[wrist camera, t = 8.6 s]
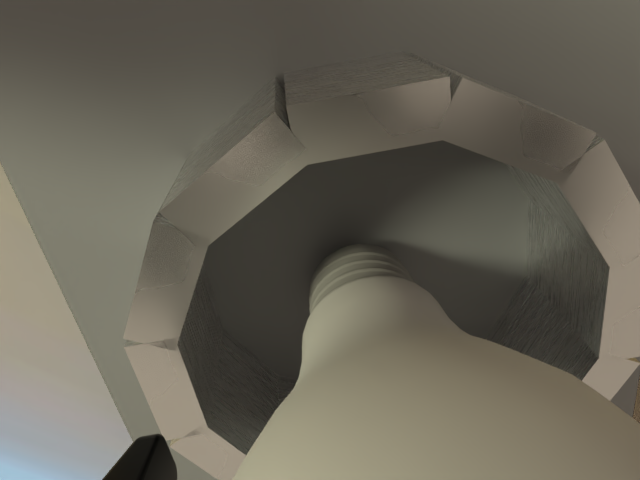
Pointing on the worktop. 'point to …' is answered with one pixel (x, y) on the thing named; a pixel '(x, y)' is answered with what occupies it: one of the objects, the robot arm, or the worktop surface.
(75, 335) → the worktop surface
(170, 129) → the socket plate
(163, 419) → the socket collar
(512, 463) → the lightbulb
